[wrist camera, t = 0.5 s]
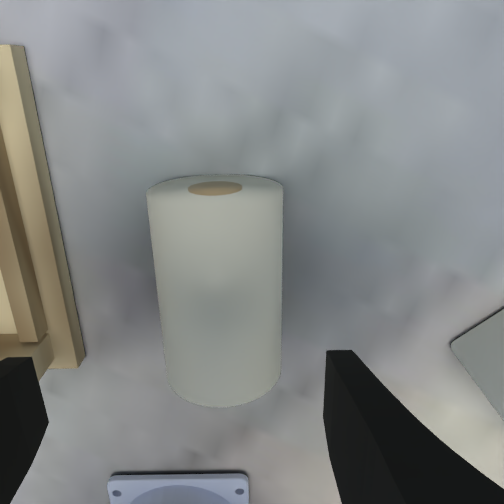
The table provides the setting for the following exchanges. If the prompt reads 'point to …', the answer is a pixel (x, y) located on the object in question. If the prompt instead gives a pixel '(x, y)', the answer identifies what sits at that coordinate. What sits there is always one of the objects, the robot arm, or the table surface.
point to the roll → (219, 285)
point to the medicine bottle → (485, 358)
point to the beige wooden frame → (31, 235)
